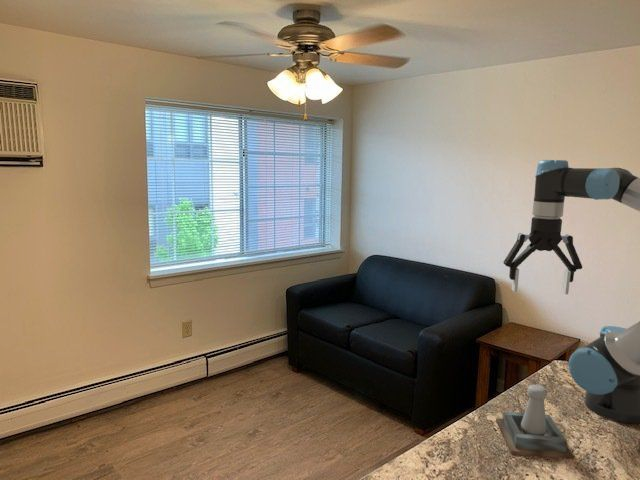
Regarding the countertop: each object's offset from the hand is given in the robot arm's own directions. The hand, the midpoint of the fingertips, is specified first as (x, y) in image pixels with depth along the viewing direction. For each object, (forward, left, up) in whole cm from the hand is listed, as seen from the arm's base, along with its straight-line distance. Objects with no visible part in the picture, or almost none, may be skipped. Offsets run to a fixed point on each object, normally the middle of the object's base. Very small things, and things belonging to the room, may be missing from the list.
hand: (539, 292), depth 131 cm
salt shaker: (+6, +22, -31) cm, 39 cm away
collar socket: (+6, +22, -32) cm, 39 cm away
